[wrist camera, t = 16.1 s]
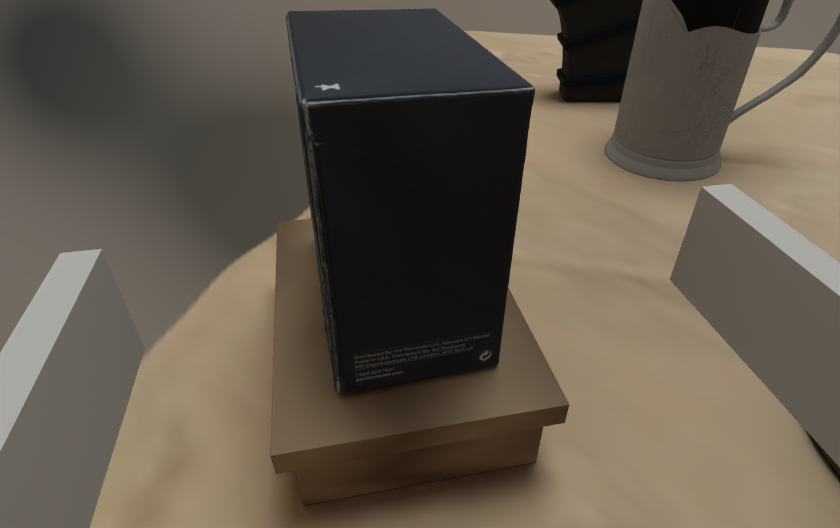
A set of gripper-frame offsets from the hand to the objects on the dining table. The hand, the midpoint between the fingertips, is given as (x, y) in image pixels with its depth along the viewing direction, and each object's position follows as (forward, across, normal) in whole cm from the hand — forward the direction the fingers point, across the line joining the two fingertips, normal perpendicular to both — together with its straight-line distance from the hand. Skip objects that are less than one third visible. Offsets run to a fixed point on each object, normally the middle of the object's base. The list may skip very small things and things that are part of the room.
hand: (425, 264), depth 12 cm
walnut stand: (+8, 0, -12) cm, 14 cm away
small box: (+8, 0, -8) cm, 11 cm away
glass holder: (+25, +27, -12) cm, 39 cm away
